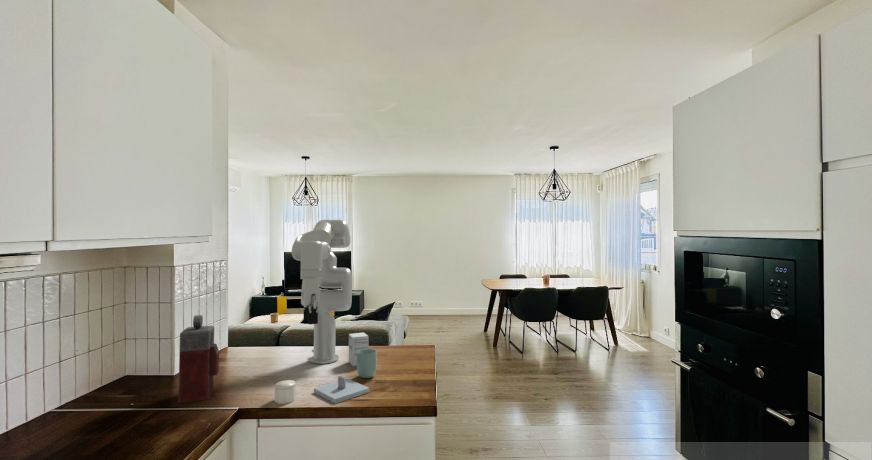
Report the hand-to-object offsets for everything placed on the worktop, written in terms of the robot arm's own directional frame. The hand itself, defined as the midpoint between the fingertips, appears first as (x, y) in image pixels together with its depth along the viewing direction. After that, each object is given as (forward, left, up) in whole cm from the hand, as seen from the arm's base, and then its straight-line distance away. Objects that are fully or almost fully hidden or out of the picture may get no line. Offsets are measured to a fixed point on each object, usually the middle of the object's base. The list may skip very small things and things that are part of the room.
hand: (310, 322), depth 143 cm
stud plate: (+9, +7, -25) cm, 27 cm away
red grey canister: (-24, -29, -25) cm, 45 cm away
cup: (+2, +23, -25) cm, 34 cm away
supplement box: (-15, +31, -25) cm, 43 cm away
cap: (+1, -10, -25) cm, 27 cm away
